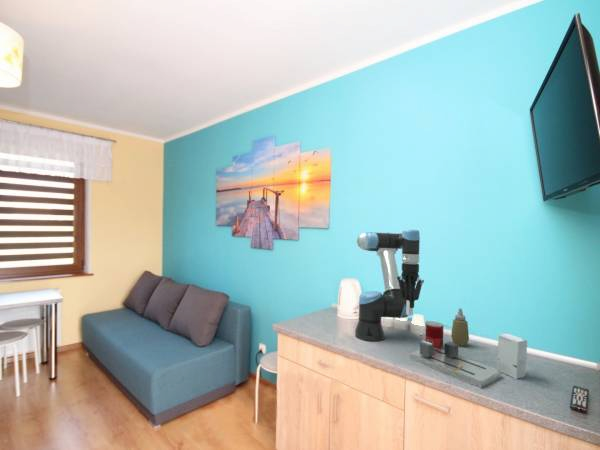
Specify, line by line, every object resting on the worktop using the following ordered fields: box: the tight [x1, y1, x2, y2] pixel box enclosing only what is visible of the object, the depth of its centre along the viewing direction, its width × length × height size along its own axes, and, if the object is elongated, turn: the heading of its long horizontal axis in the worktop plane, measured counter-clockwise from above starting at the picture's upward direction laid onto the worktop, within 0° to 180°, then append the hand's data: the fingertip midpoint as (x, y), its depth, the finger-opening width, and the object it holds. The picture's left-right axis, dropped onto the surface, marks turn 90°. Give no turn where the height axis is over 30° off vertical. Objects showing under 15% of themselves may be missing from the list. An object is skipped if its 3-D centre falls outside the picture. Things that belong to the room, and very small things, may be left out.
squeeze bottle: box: [450, 307, 470, 347], centre depth 154 cm, size 8×8×18 cm
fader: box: [419, 340, 434, 357], centre depth 132 cm, size 4×4×5 cm
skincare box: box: [495, 333, 528, 380], centre depth 123 cm, size 8×6×15 cm
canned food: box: [425, 320, 444, 349], centre depth 151 cm, size 8×8×11 cm
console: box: [409, 341, 502, 389], centre depth 128 cm, size 30×16×8 cm, turn 35°
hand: (409, 314), depth 140 cm, fingers closed
